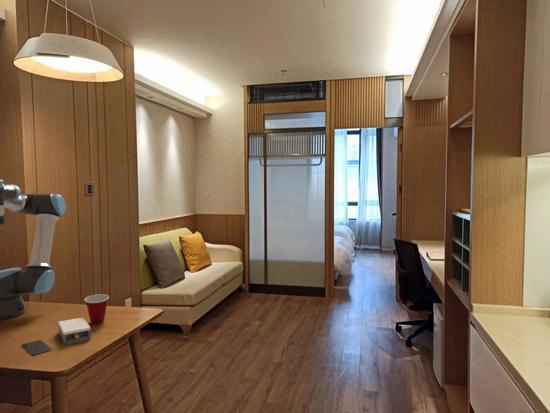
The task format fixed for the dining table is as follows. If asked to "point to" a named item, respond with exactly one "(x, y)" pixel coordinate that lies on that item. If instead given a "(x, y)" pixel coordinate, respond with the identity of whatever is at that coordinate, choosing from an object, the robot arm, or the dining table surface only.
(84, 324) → the block
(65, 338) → the cable duct
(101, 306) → the plastic cup
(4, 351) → the dining table surface
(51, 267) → the robot arm
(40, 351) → the smartphone
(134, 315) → the dining table surface
